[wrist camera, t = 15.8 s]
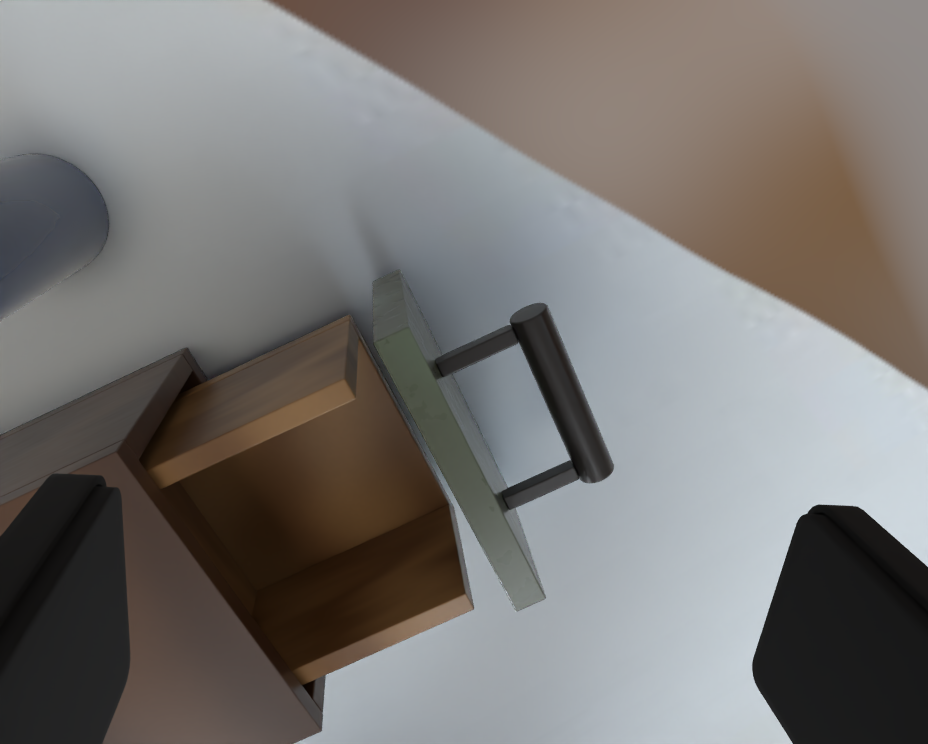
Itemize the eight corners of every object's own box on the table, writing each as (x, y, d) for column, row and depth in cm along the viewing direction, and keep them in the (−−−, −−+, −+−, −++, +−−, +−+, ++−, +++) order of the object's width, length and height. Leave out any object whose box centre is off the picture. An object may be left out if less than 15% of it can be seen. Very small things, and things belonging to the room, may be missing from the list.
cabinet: (187, 346, 30) (115, 451, 22) (333, 573, 35) (322, 731, 26) (-106, 484, 31) (-285, 638, 22) (78, 688, 35) (-13, 878, 27)
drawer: (500, 221, 29) (539, 265, 22) (598, 453, 33) (657, 550, 26) (116, 401, 30) (41, 497, 23) (261, 605, 34) (234, 736, 27)
